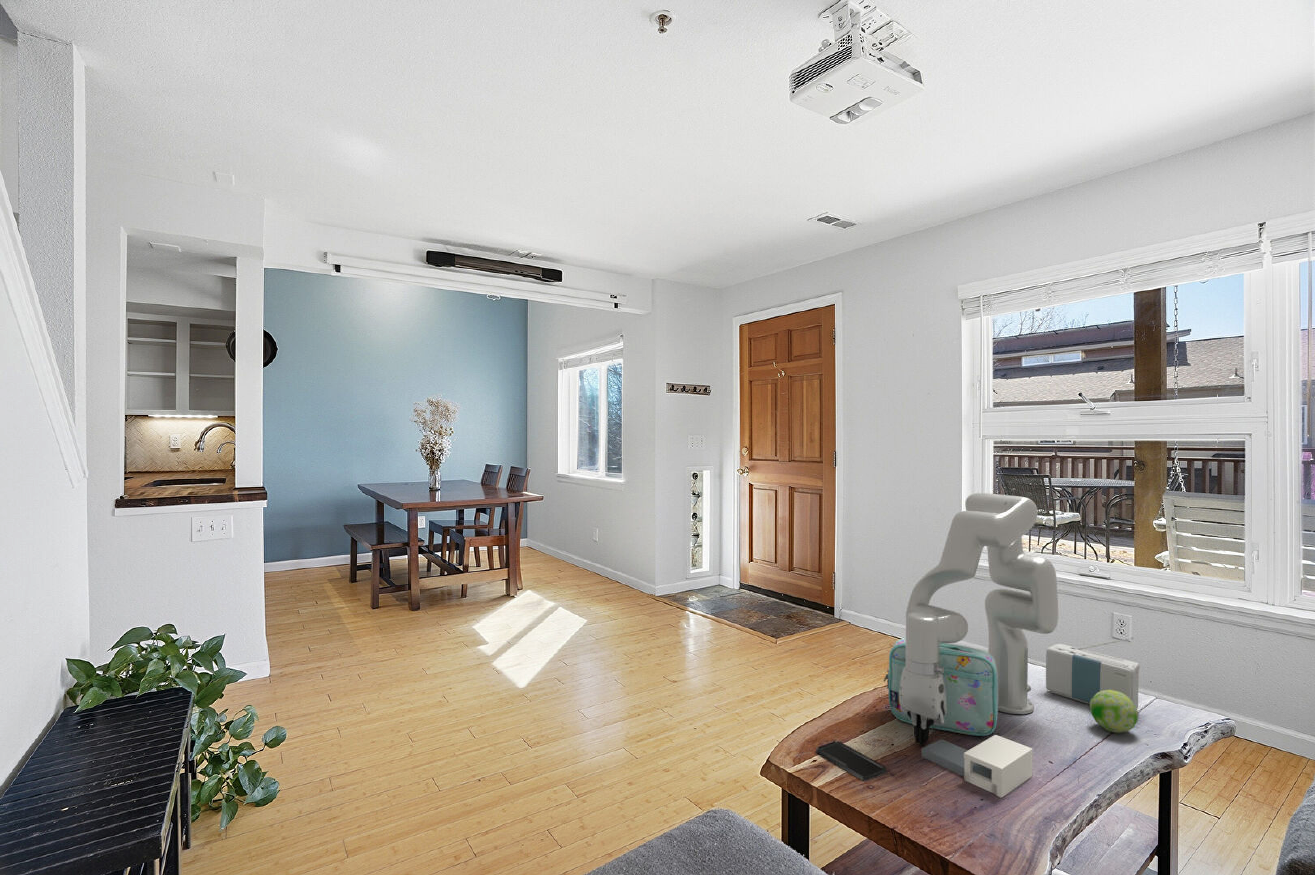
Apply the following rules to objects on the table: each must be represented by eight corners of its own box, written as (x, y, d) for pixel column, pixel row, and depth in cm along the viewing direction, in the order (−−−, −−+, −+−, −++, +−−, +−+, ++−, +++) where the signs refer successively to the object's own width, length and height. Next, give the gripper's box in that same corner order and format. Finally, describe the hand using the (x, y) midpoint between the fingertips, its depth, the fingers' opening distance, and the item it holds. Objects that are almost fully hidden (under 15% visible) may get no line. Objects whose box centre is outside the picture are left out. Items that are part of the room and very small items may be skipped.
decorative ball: (1140, 731, 162) (1141, 691, 162) (1133, 744, 155) (1133, 703, 155) (1094, 718, 169) (1095, 680, 169) (1085, 730, 162) (1085, 691, 162)
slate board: (941, 749, 153) (941, 739, 153) (1009, 779, 140) (1009, 768, 140) (921, 758, 149) (921, 748, 149) (989, 791, 136) (990, 779, 136)
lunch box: (881, 721, 167) (882, 638, 167) (887, 706, 176) (888, 628, 176) (997, 745, 154) (998, 656, 154) (997, 727, 164) (998, 643, 163)
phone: (837, 740, 155) (888, 768, 142) (837, 745, 155) (888, 773, 142) (813, 748, 151) (864, 778, 138) (813, 753, 151) (864, 783, 138)
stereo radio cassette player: (1044, 693, 185) (1045, 624, 185) (1056, 686, 190) (1057, 619, 189) (1130, 720, 168) (1131, 644, 168) (1141, 712, 173) (1143, 638, 173)
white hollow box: (995, 760, 147) (995, 734, 147) (1032, 776, 141) (1032, 748, 140) (963, 780, 139) (963, 753, 139) (1001, 798, 132) (1002, 769, 132)
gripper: (960, 672, 150) (960, 750, 150) (902, 654, 162) (901, 726, 162) (944, 679, 145) (943, 760, 146) (885, 660, 157) (884, 735, 158)
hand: (921, 742), depth 154 cm, fingers closed
